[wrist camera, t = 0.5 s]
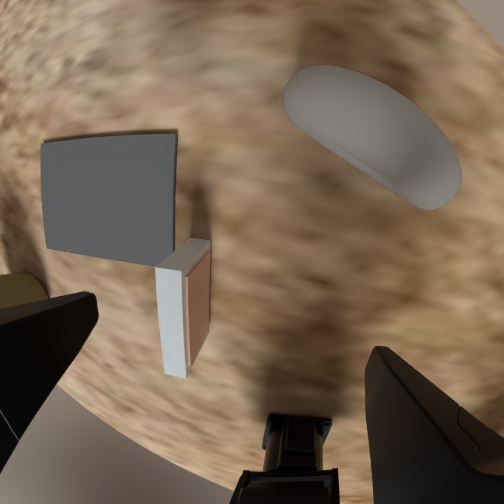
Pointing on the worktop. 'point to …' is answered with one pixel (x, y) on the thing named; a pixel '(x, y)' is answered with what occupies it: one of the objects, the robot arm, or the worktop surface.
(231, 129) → the worktop surface
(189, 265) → the tile
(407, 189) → the donut
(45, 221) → the mat
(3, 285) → the squeeze bottle
